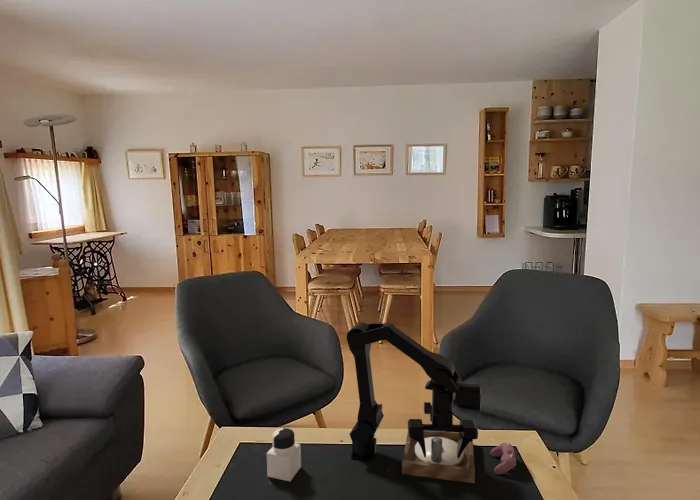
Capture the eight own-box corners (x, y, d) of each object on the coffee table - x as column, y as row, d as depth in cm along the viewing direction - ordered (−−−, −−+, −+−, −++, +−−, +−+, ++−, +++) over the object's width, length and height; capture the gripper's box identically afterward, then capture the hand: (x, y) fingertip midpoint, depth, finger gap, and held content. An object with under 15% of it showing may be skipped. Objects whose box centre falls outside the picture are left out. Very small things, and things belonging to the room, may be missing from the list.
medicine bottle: (301, 466, 129) (300, 427, 127) (290, 482, 122) (289, 441, 121) (279, 462, 131) (277, 423, 130) (267, 477, 125) (265, 436, 123)
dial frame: (402, 473, 125) (402, 461, 125) (408, 436, 144) (408, 425, 143) (474, 483, 121) (474, 470, 120) (471, 443, 140) (472, 432, 139)
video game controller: (508, 481, 124) (521, 461, 123) (493, 473, 124) (505, 453, 123) (502, 460, 134) (514, 441, 132) (488, 452, 134) (500, 433, 133)
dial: (419, 437, 141) (419, 415, 140) (465, 445, 137) (466, 422, 136) (410, 463, 128) (410, 439, 127) (461, 472, 123) (461, 448, 122)
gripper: (470, 392, 132) (468, 441, 135) (406, 391, 133) (405, 440, 135) (479, 410, 121) (477, 464, 123) (409, 409, 122) (408, 462, 124)
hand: (441, 456), depth 127 cm, fingers open, 9 cm apart
